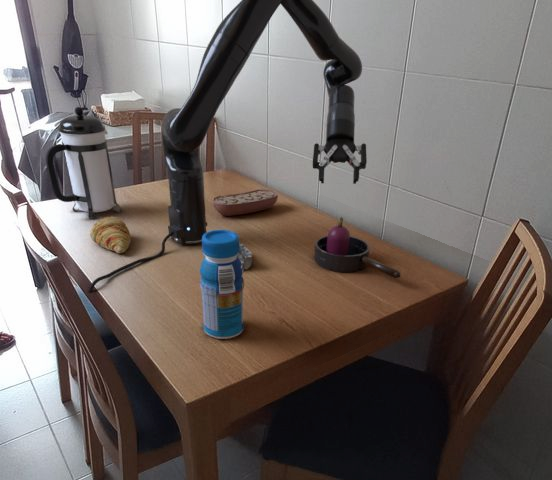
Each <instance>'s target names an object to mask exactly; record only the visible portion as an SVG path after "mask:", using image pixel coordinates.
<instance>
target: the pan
mask: <svg viewBox="0 0 552 480" xmlns="http://www.w3.org/2000/svg"><path fill="white" fill-rule="evenodd" d="M327 237H328V235H325V236H321V237H319V238H318V239H316V241H315V242H314V251H313V260H314V262H315V264H317V265H318V266H319V267H320V268H322V269H325V270H328V271H331V272H336V273H337V272H338V273H354V272H358V271H360V270H362V269H364V268H365V267H366V266H367V265H365V264H363V263H362V261H361V259H362V258H363V257H368V258H370V251H371V248H370V245H369V243H368V242H367V241H365V240H363V239H361V238H358V237H355V236H351V235H350V240H349V248H348V256H344V255H336V254H331V253H328V252H326V247H327Z"/></svg>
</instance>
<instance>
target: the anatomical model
mask: <svg viewBox="0 0 552 480" xmlns="http://www.w3.org/2000/svg"><path fill="white" fill-rule="evenodd" d="M278 199H279V193H278V192H277V191H275V190H273V189H266V188H263V189H262V188H259V189H254V190H250V191H245V192H240V193H234V194H226V195H218V196H215V197H213V198H212V205H213V208H214V209H215V211H216V212H217V213H218V214H220V215H222V216H224V217H233V216H241V215H245V214H251V213H256V212H262V211H264V210H267V209H270V208H272V207H274V206H275V204H276V203H277V201H278Z"/></svg>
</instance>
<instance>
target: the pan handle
mask: <svg viewBox="0 0 552 480" xmlns="http://www.w3.org/2000/svg"><path fill="white" fill-rule="evenodd" d="M361 261H362V263H363V264H365V265H366V266H368V267H370V268H372V269H375V270H377V271H379V272H381V273H383V274H385V275H388V276H390V277H392V278H394V279H399V278H400V277H401V271H399V270H398V269H395V268H393V267H392V266H391V267H390V266H388V265H386V264H384V263H381V262H379V261H377V260H375V259H372V258H370V257H369V258H368V257H363V258H362V259H361Z"/></svg>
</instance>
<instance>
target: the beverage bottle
mask: <svg viewBox="0 0 552 480" xmlns="http://www.w3.org/2000/svg"><path fill="white" fill-rule="evenodd" d="M239 245H240V236H239V234H238V233H237V232H235V231H232V230H228V229H213V230H209V231H207V232H206V233H205V234H204V235H203V236H202V243H201V248H202V254H203V255H204V256H205V257H204V258H203V259H202V262H201V263H200V267H199V273H200V276H201V277H200V279H199V287H200V290H201V302H202V317H203V318H202V319H203V330H204V333H205V334H206V335H208V336H209V337H211V338H214V339H220V340H229V339H232V338H236V337H238V336H240V335H241V334H242V333H243V331H244V329H245V324H244V323H245V321H244V288H245V279H244V277H243V274H244V269H243V266H242V263H241V261H240V260H239V258H238V257H237V255H238V253H239Z"/></svg>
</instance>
